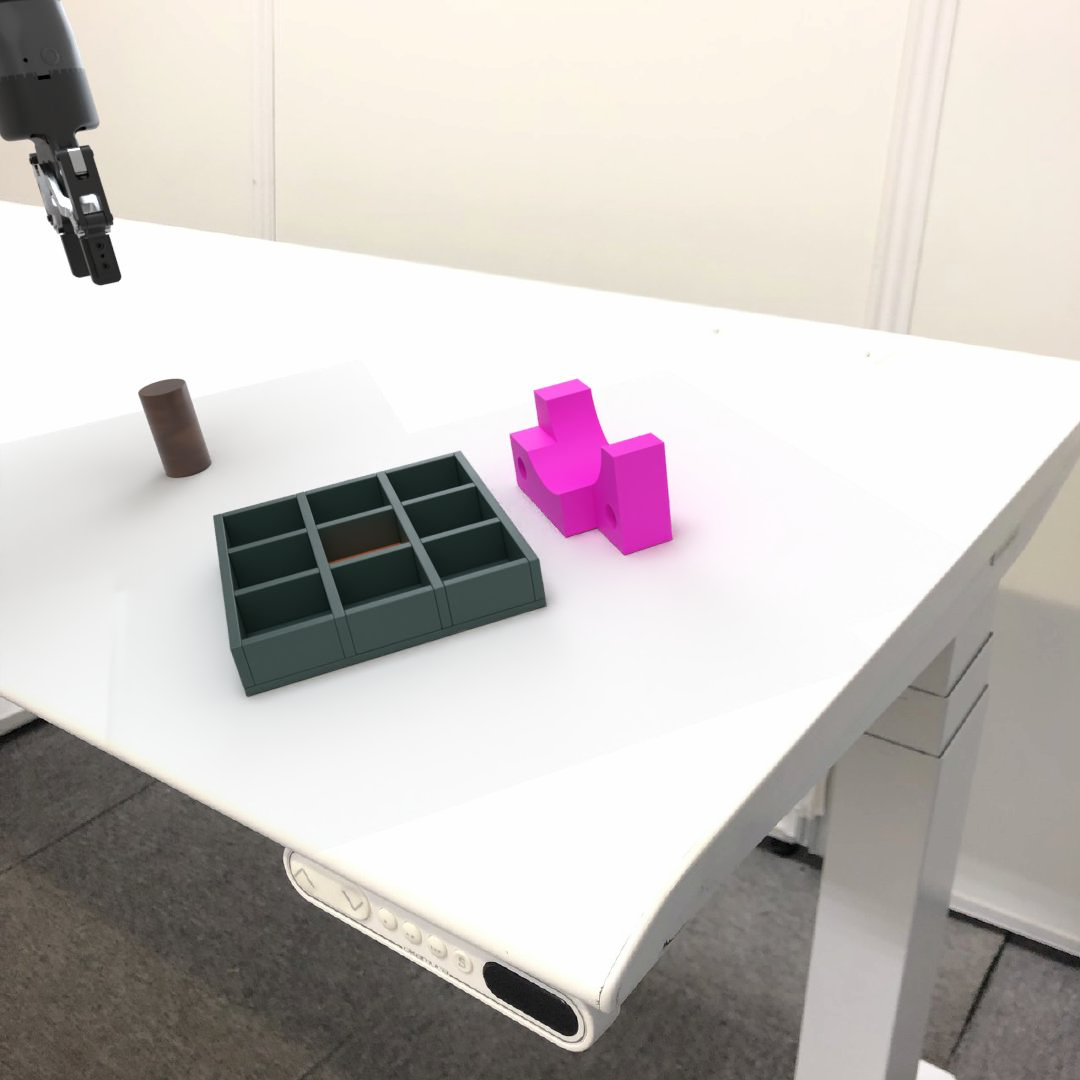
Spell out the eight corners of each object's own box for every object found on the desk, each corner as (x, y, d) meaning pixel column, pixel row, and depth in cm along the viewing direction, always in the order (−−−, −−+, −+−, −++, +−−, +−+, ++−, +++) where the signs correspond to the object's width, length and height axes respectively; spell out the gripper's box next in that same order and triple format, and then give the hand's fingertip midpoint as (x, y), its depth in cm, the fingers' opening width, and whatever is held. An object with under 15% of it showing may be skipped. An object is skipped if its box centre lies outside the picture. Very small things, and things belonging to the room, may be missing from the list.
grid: (246, 697, 63) (229, 649, 61) (226, 556, 80) (212, 515, 78) (547, 605, 67) (539, 558, 66) (468, 490, 84) (460, 450, 82)
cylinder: (166, 481, 94) (137, 400, 90) (165, 464, 98) (138, 385, 94) (212, 469, 95) (186, 388, 91) (210, 453, 98) (184, 374, 95)
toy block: (517, 484, 84) (503, 398, 80) (588, 463, 85) (577, 378, 81) (591, 565, 71) (578, 467, 67) (672, 539, 73) (664, 442, 69)
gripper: (-29, 84, 85) (37, 283, 91) (-7, 68, 73) (67, 296, 80) (65, 73, 88) (123, 265, 95) (101, 56, 77) (163, 276, 83)
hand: (97, 279), depth 87 cm, fingers open, 8 cm apart
